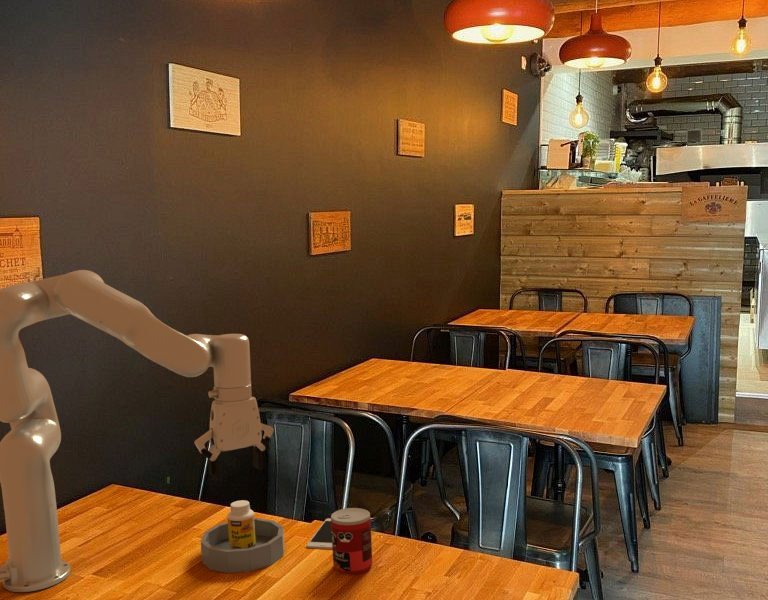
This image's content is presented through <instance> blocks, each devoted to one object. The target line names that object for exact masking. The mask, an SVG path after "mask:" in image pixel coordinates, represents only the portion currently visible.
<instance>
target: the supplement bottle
mask: <svg viewBox="0 0 768 600" xmlns="http://www.w3.org/2000/svg"><path fill="white" fill-rule="evenodd" d="M226 516H227V522H228V533H229V547H230V550H232V549H245V548H251V547H255V546H256V540H255V524H254V518H255V512H254V510H252V509H251V505H250V502H249V501H248V500H245V499H244V500H243V499H242V500H236V501H233V502H231V503H230V511H229V512H228V514H227V515H226Z"/></svg>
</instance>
